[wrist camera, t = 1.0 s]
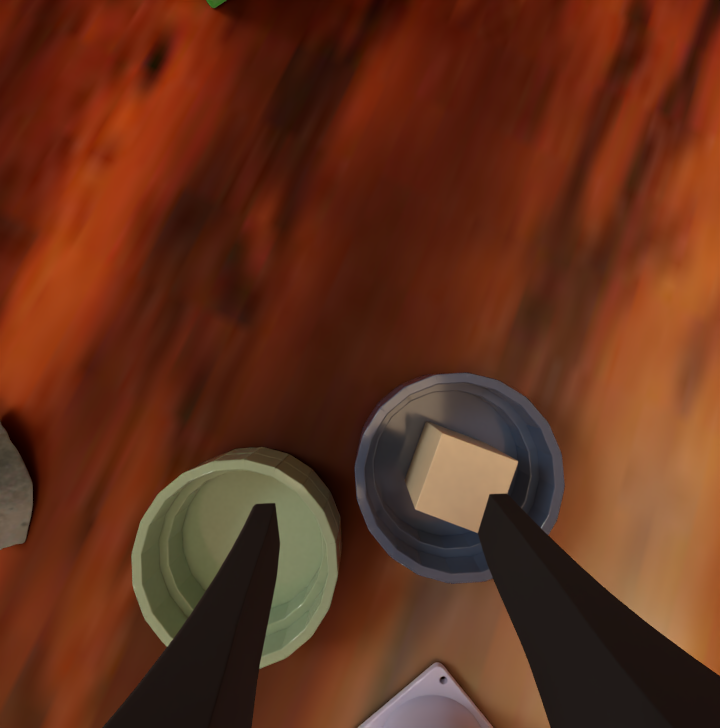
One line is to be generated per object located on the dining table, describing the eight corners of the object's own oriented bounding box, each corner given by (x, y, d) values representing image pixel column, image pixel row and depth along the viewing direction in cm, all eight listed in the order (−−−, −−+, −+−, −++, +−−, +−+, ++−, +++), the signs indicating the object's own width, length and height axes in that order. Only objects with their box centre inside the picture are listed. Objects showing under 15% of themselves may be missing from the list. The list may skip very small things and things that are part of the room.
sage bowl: (377, 545, 23) (379, 580, 19) (243, 657, 23) (218, 715, 19) (268, 411, 24) (248, 418, 20) (137, 520, 24) (90, 549, 20)
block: (485, 443, 23) (519, 461, 18) (464, 503, 23) (491, 538, 18) (425, 420, 23) (442, 432, 18) (404, 480, 23) (414, 509, 18)
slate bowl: (566, 472, 23) (607, 491, 19) (433, 584, 23) (447, 627, 19) (453, 339, 24) (470, 331, 20) (322, 448, 24) (313, 462, 20)
